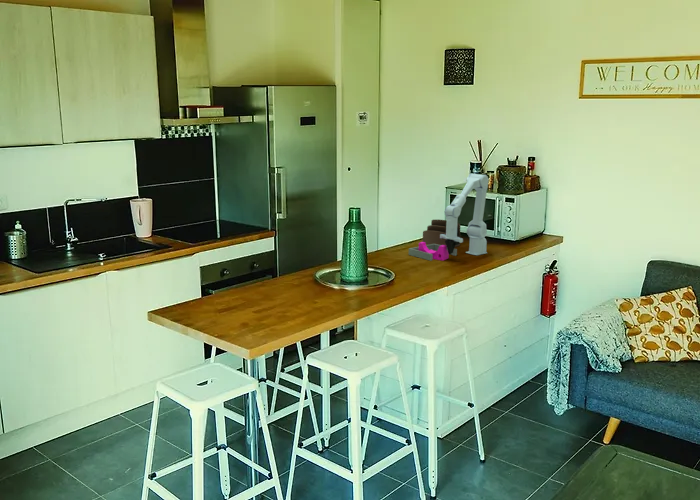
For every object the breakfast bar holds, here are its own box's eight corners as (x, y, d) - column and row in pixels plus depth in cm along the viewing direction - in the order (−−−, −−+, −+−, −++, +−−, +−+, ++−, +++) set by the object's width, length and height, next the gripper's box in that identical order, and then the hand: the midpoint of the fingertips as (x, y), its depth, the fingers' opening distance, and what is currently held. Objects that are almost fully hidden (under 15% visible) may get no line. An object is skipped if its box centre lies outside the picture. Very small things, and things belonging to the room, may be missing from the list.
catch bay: (434, 249, 384) (434, 243, 383) (456, 255, 371) (457, 249, 371) (408, 254, 372) (408, 248, 371) (431, 260, 359) (431, 254, 358)
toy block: (448, 258, 365) (449, 244, 363) (443, 260, 360) (443, 246, 358) (423, 254, 373) (424, 240, 371) (418, 256, 368) (418, 242, 366)
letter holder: (431, 241, 407) (432, 217, 404) (460, 246, 395) (461, 222, 392) (422, 243, 400) (422, 220, 397) (451, 248, 388) (452, 224, 384)
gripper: (436, 227, 361) (435, 251, 364) (456, 231, 350) (455, 257, 353) (445, 225, 365) (444, 250, 368) (466, 229, 354) (464, 255, 358)
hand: (450, 253), depth 361 cm, fingers closed
